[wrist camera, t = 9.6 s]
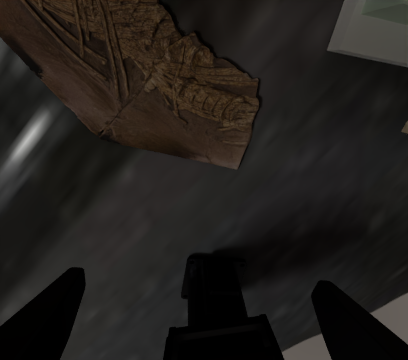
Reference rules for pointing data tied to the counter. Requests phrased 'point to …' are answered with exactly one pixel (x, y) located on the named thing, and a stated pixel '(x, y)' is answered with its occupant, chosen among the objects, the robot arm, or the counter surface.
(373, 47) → the fulcrum board
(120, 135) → the fossil slab
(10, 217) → the counter surface
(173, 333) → the robot arm
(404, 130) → the beech bar
